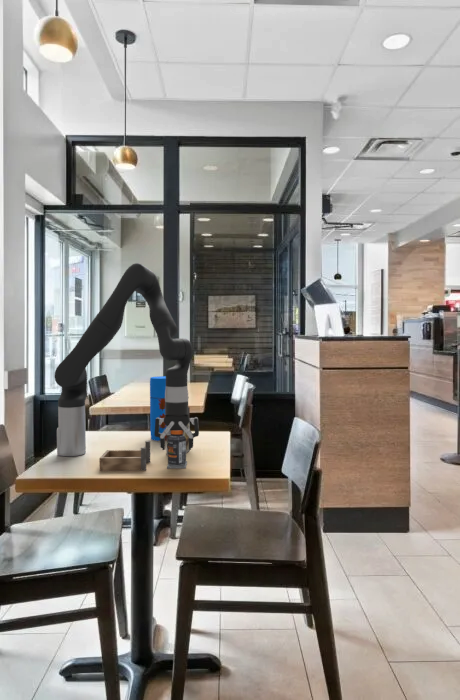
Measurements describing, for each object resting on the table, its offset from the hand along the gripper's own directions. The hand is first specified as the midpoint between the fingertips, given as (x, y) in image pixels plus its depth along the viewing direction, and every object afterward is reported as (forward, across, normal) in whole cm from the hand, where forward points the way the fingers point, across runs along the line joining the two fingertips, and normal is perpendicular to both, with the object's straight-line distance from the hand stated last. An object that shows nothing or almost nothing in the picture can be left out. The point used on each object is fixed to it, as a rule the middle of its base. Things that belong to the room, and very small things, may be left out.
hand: (176, 449), depth 172 cm
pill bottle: (+5, 0, 0) cm, 5 cm away
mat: (+5, 0, 0) cm, 5 cm away
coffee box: (+6, -1, +18) cm, 19 cm away
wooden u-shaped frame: (+5, -17, 0) cm, 18 cm away
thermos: (+6, -9, +44) cm, 45 cm away
